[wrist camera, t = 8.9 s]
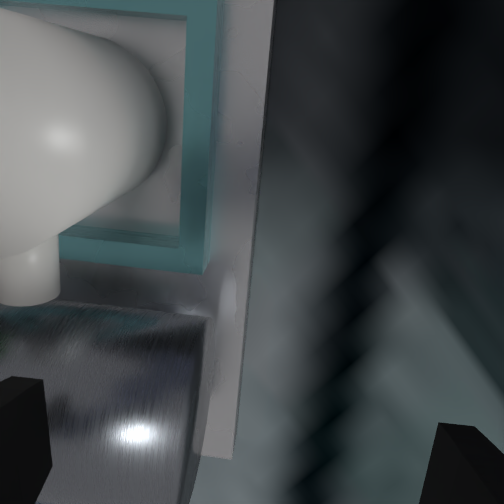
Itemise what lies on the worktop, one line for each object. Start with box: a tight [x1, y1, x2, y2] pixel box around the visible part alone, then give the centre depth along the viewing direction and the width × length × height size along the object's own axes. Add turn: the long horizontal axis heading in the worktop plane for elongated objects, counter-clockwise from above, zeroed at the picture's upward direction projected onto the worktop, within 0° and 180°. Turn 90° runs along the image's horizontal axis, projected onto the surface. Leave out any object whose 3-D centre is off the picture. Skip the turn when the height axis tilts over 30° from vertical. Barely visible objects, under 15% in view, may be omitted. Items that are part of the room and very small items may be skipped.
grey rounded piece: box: [0, 8, 167, 306], centre depth 12 cm, size 5×7×6 cm
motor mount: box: [0, 0, 277, 504], centre depth 14 cm, size 12×18×8 cm, turn 175°
